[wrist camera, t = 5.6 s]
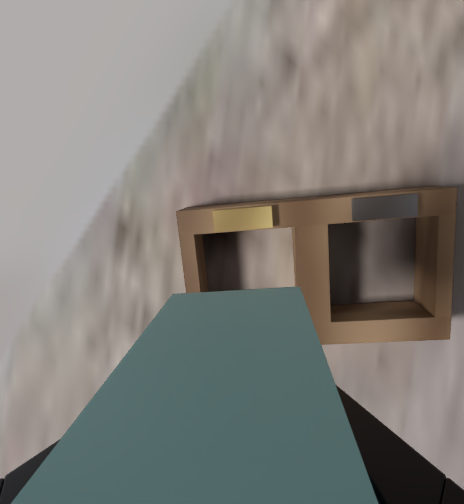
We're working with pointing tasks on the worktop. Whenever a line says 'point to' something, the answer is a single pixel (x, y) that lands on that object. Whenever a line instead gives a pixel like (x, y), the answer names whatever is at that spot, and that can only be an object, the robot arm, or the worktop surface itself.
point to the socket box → (317, 257)
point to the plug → (213, 414)
